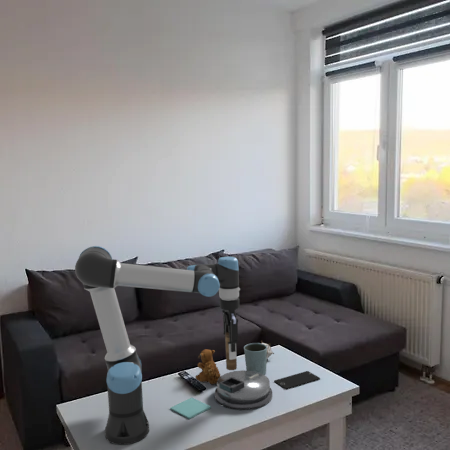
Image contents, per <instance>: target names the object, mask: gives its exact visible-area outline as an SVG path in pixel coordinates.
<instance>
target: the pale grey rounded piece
mask: <svg viewBox="0 0 450 450" xmlns="http://www.w3.org/2000/svg"><path fill="white" fill-rule="evenodd" d="M260 342H261V344H264V345H266V346H267V355H266V357H267V360H268V359H269V358H270V357H271V356H272V355H274V354H275V352H273V350H272V347H271V343H270V342H269V343H265V342H263V340H261V341H260Z"/></svg>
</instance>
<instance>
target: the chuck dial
mask: <svg viewBox="0 0 450 450" xmlns="http://www.w3.org/2000/svg"><path fill="white" fill-rule="evenodd" d="M220 376H221V377H219V378H218V380H217V384H216V388H217V394H218V396H219V397H220V398H221V399H222V400H224V401H227V402H230V403H234V404H252V403H256V402H259V401H262V400H264V399H265V398H267V397H268V395H269V393H270V388H271V387H270V386H271V385H270V383H271V382H270V378H269V377H268V376H266V374H265V375H263V374H261V373H258V372H254V371H246V370H232V371H230V372H227V373H224V374H222V375H220Z"/></svg>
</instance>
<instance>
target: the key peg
mask: <svg viewBox="0 0 450 450" xmlns="http://www.w3.org/2000/svg"><path fill="white" fill-rule="evenodd" d="M224 337H225V338H224V339H226V340H225V359H226V360H225V363H226V364H225V366H226V370H227V371H237V369H238V365H237V363H238V362H237V359H232V360H229V344H228V342H230V341H229V332H226V333H225V335H224Z"/></svg>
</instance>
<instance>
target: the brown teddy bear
mask: <svg viewBox="0 0 450 450" xmlns="http://www.w3.org/2000/svg"><path fill="white" fill-rule="evenodd" d="M215 352H216V351H215V350H214V349H212V350H211V349H206V348H205V349H203V350H201V352H200V353H199V355H198V357H197V358H200V359H201V362H198V363H197V367H198V369H200V370H201V372H199V374H197V375H195V379H196V380H197V381H198V382H200V383H209V385H213V386H214V385H217V380H218V378H219V377H221V376H222V375H221V373H220V371H219V368H218V367H219V366H217V363H216V362H215V361H214V359H213V355H214V354H215Z"/></svg>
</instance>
